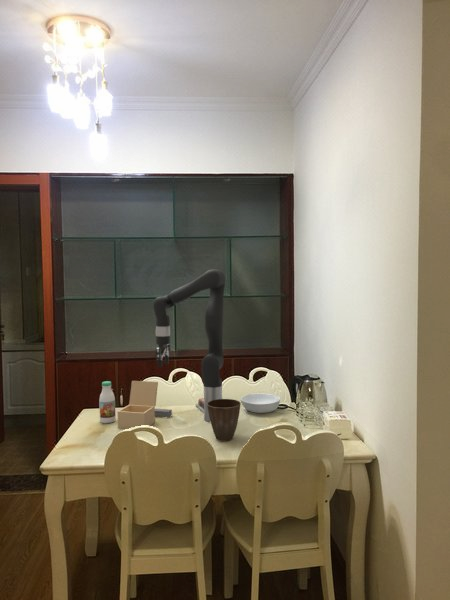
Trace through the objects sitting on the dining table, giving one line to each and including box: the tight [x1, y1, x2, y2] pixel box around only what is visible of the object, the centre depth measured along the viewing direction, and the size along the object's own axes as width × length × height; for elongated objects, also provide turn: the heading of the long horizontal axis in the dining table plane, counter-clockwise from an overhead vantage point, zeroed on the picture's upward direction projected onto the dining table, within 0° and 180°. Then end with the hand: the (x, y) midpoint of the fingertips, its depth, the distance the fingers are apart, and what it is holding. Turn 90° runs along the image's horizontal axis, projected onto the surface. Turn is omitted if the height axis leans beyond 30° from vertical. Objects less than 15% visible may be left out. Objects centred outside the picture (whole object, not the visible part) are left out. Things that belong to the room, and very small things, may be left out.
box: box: [116, 404, 156, 430], centre depth 236 cm, size 14×12×8 cm
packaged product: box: [195, 397, 204, 414], centre depth 261 cm, size 18×5×10 cm
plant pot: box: [207, 398, 242, 442], centre depth 215 cm, size 15×15×16 cm
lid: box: [128, 380, 159, 407], centre depth 244 cm, size 14×12×1 cm
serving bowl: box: [240, 392, 281, 414], centre depth 257 cm, size 21×21×7 cm
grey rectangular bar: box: [155, 408, 173, 419], centre depth 251 cm, size 14×4×4 cm, turn 74°
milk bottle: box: [98, 380, 117, 424], centre depth 243 cm, size 8×8×20 cm
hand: (163, 365), depth 252 cm, fingers open, 8 cm apart
